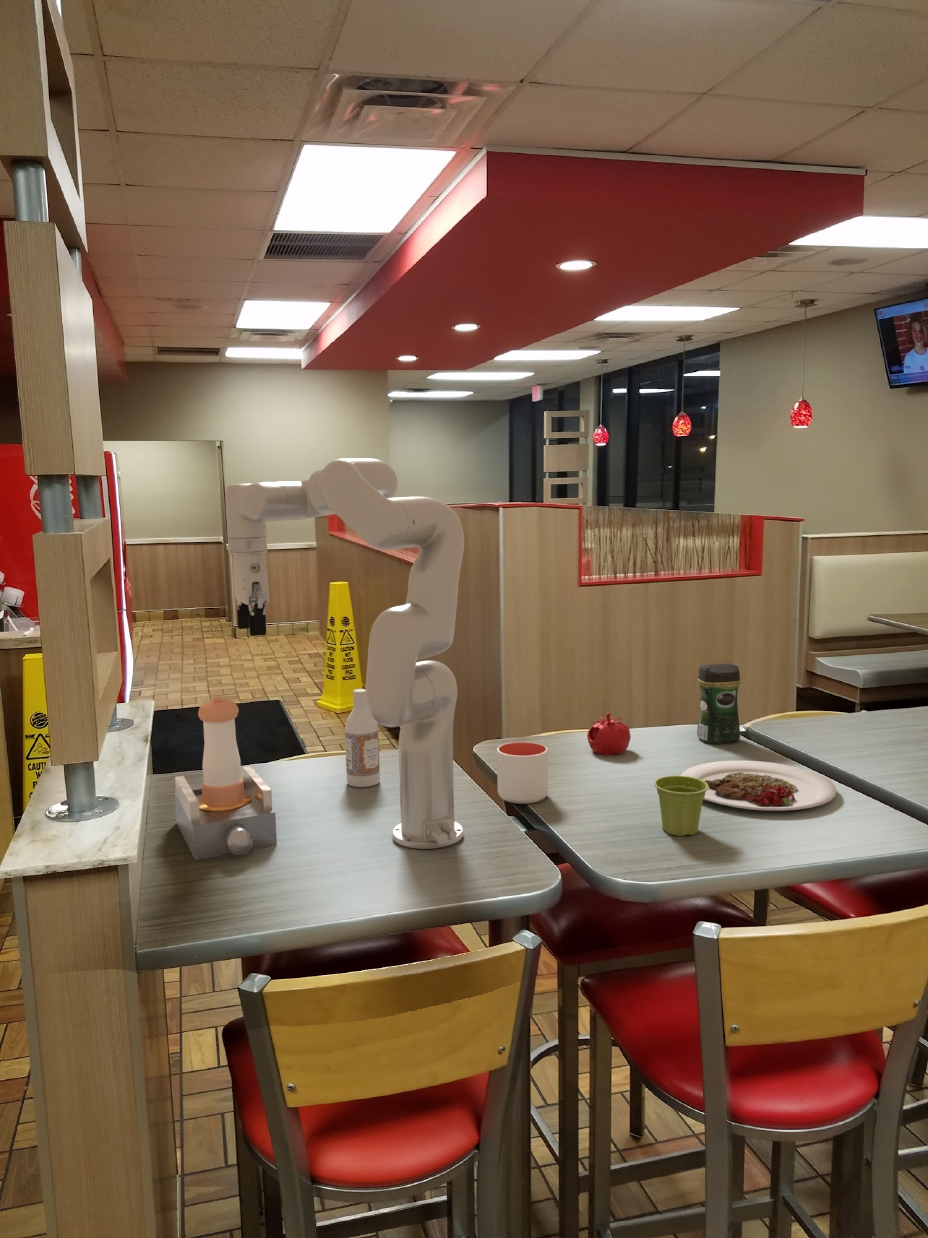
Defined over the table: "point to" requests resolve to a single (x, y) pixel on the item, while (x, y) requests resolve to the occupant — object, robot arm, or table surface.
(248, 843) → the portable stove
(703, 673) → the coffee jar
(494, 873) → the table surface
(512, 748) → the cup
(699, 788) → the plant pot
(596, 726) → the pomegranate
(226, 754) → the pepper shaker
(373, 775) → the bath foam
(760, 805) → the plated food
